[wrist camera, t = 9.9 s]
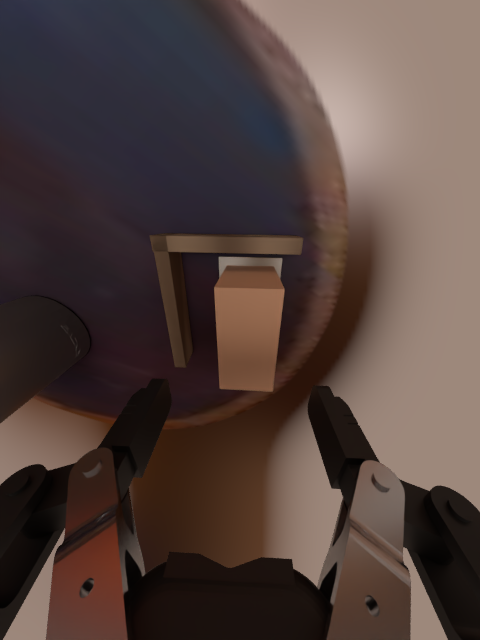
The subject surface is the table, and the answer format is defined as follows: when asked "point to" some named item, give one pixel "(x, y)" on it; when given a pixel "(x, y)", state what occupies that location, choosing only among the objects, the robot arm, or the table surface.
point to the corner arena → (173, 276)
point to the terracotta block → (248, 326)
